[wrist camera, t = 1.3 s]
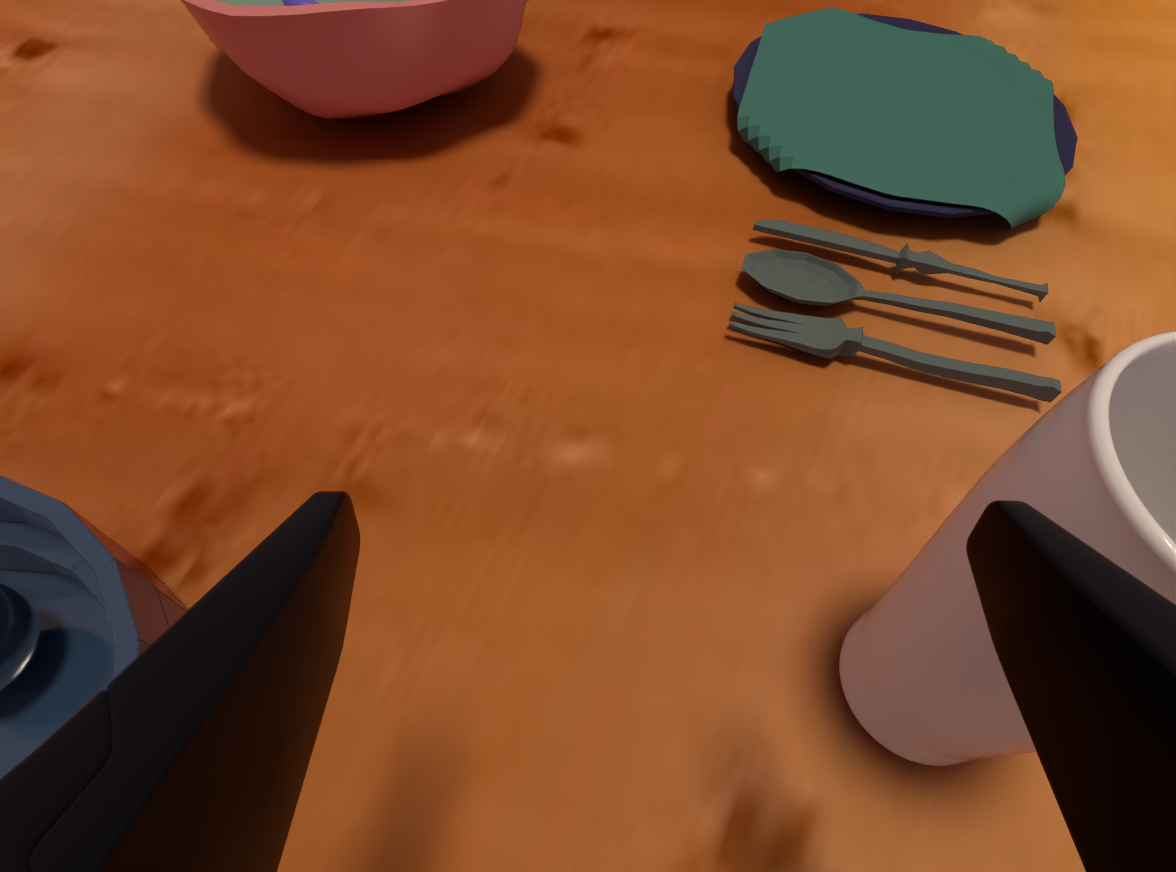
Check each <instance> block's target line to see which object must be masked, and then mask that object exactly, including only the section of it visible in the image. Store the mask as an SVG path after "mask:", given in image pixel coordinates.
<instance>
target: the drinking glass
mask: <svg viewBox="0 0 1176 872" xmlns="http://www.w3.org/2000/svg"><path fill="white" fill-rule="evenodd" d="M996 500H1009V501H1022V502H1025V503H1027V504H1029V505H1030V506H1032V507H1033V508H1035V509H1036V510H1037V511H1039V512H1040V513H1042V514H1043V515H1045V516H1046V517H1048V518H1049V519H1051V520H1052V521H1054V522H1055V523H1057V524H1058V525H1060V526H1061V527H1062V528H1064V529H1065V530H1067V531H1068V532H1070V533H1071V534H1073V535H1074V536H1076V537H1077V538H1079V539H1080V540H1082V541H1083V542H1084V543H1086V544H1087V545H1089V546H1090V547H1092V548H1093V549H1095V550H1096V551H1098V552H1099V553H1101V554H1102V555H1104V556H1105V557H1106V558H1108V559H1109V560H1111V561H1112V562H1114V563H1115V564H1117V565H1118V566H1120V567H1121V568H1123V569H1124V570H1126V571H1127V572H1128V573H1130V574H1131V575H1133V576H1134V577H1136V578H1137V579H1139V580H1140V581H1142V582H1143V583H1145V584H1146V585H1148V586H1149V587H1151V588H1152V589H1153V590H1155V591H1156V592H1158V593H1159V594H1161V595H1162V596H1164V597H1165V598H1167V599H1168V600H1170V601H1171V602H1173V603H1174V604H1175V605H1176V331H1173V332H1166V333H1162V334H1157V335H1153V336H1150V337H1148V338H1145V339H1142V340H1139V341H1137V342H1135V343H1133V344H1131V345H1129V346H1127V347H1126V348H1124V349H1123V350H1121V351H1120V352H1118V353H1117V354H1115V355H1114V356H1113V357H1112V358H1111V359H1110V360H1109V361H1108V362H1107V363H1105V364H1104V365H1103V366H1102V367H1100V368H1099V369H1098V370H1097V371H1096V372H1094V373H1093V374H1092V375H1091V376H1089V377H1088V378H1087V379H1086V380H1084V381H1083V382H1082V383H1081V384H1079V385H1078V386H1077V387H1076V388H1075V389H1073V390H1072V391H1071V392H1070V393H1069V394H1067V395H1066V396H1065V397H1064V398H1063V399H1062V400H1060V401H1059V402H1058V403H1057V404H1056V405H1055V406H1054V407H1052V408H1051V409H1050V410H1049V411H1048V412H1047V413H1046V414H1044V415H1043V416H1042V417H1041V418H1040V419H1039V420H1038V421H1037V422H1036V423H1035V424H1033V425H1032V426H1031V427H1030V428H1029V429H1028V430H1027V431H1026V432H1025V433H1024V434H1023V435H1022V436H1021V437H1019V438H1018V439H1017V440H1016V441H1015V442H1014V443H1013V444H1012V445H1011V446H1010V447H1009V448H1008V449H1007V450H1006V451H1005V452H1004V453H1003V454H1002V455H1001V456H1000V457H999V458H998V459H997V460H996V461H995V463H994V464H993V465H992V466H991V467H990V468H989V469H988V470H987V471H986V472H985V474H984V475H983V476H982V477H981V478H980V479H979V480H978V481H977V483H976V484H975V485H974V486H973V487H972V489H971V490H970V491H969V492H968V493H967V494H966V496H965V497H964V498H963V499H962V500H961V502H960V503H959V504H958V505H957V507H956V508H955V509H954V510H953V511H952V513H951V514H950V515H949V516H948V517H947V519H946V520H945V521H944V522H943V524H942V525H941V526H940V527H939V528H938V530H937V531H936V532H935V533H934V535H933V536H932V537H931V538H930V539H929V541H928V542H927V543H926V544H925V546H924V547H923V548H922V549H921V550H920V552H919V553H918V554H917V555H916V556H915V558H914V559H913V560H912V561H911V562H910V564H909V565H908V566H907V567H906V568H905V570H904V571H903V572H902V573H901V574H900V575H899V577H898V578H897V579H896V580H895V581H894V583H893V584H892V585H891V586H890V587H889V588H888V590H887V591H886V592H885V593H884V594H883V595H882V597H881V598H880V599H879V600H878V601H877V602H876V603H875V605H874V606H872V607H871V608H870V609H869V610H868V611H866V612H865V613H864V614H863V615H862V616H861V617H860V618H859V619H858V620H857V621H856V622H855V623H854V624H853V625H852V627H851V628H850V630H849V631H848V633H847V635H846V637H845V639H844V642H843V644H842V648H841V652H840V660H839V672H840V680H841V685H842V689H843V692H844V695H845V698H846V700H847V702H848V705H849V707H850V709H851V710H852V712H853V714H854V716H855V717H856V719H857V720H858V722H859V723H860V724H861V725H862V727H863V728H864V729H865V730H866V731H867V732H868V733H869V734H870V735H871V736H872V737H873V738H874V739H875V740H876V741H877V742H878V743H880V744H881V745H882V746H883V747H885V748H886V749H888V750H889V751H891V752H893V753H894V754H896V755H898V756H900V757H902V758H905V759H907V760H910V761H913V762H916V763H920V764H924V765H931V766H948V765H955V764H960V763H964V762H968V761H971V760H975V759H979V758H986V757H995V756H1003V755H1013V754H1022V753H1032V752H1036V749H1035V747H1034V744H1033V742H1032V739H1031V737H1030V735H1029V732H1028V730H1027V727H1026V725H1025V723H1024V720H1023V718H1022V715H1021V713H1020V710H1019V708H1018V706H1017V703H1016V701H1015V698H1014V696H1013V693H1012V691H1011V689H1010V686H1009V684H1008V681H1007V679H1006V676H1005V674H1004V672H1003V669H1002V667H1001V664H1000V661H999V659H998V656H997V654H996V651H995V648H994V645H993V642H992V639H991V636H990V632H989V629H988V626H987V622H986V619H985V615H984V612H983V608H982V605H981V601H980V598H979V595H978V591H977V588H976V584H975V581H974V577H973V574H972V570H971V567H970V564H969V560H968V557H967V551H966V545H967V540H968V537H969V535H970V533H971V531H972V530H973V528H974V526H975V525H976V523H977V521H978V520H979V518H980V516H981V515H982V513H983V511H984V510H985V508H986V507H987V505H988V504H989V503H991V502H993V501H996Z"/></svg>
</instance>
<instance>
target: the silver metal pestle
mask: <svg viewBox="0 0 1176 872" xmlns="http://www.w3.org/2000/svg"><path fill="white" fill-rule="evenodd" d="M39 639H40V626H39V620H38V617H37V614H36V612H35V610H34V608H33V607H32V605H31V604H30V603H29V601H28V600H27V599H26V598H25V597H24V596H23V595H21V594H20V593H19V592H17V591H16V590H14V589H13V588H10V587H8V586H6V585H4V584H1V583H0V693H1V692H2V691H4V690H5V689H7V688H8V687H10V686H11V685H12V684H13V683H14V682H15V681H16V680H17V679H18V678H19V677H20V676H21V675H22V674H23V673H24V672H25V671H26V669H27V668H28V666H29V665H30V664H31V662H32V660H33V658H34V656H35V654H36V651H37V648H38V644H39Z"/></svg>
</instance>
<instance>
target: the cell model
mask: <svg viewBox="0 0 1176 872" xmlns="http://www.w3.org/2000/svg"><path fill="white" fill-rule="evenodd" d="M181 2H182V3H183V4H184V5H185V7H186V8H187V9H188V11H189V12H190V13H191V15H192V16H193V17H194V19H195V20H196V22H197V23H198V24H199V26H200V27H201V28H202V30H203V31H204V32H205V34H206V35H207V36H208V37H209V39H210V40H211V41H212V42H213V44H214V45H215V46H216V47H217V48H218V49H219V50H220V51H221V52H222V53H223V54H224V55H226V56H227V57H228V58H229V59H230V60H231V61H232V62H233V63H234V64H236V65H237V66H238V67H239V68H240V69H241V70H242V71H243V72H244V73H245V74H246V75H248V76H249V77H250V78H251V79H253V80H254V81H256V82H257V83H259V84H261V85H262V86H264V87H265V88H267V89H268V90H270V91H271V92H273V93H274V94H276V95H278V96H279V97H281V98H282V99H284V100H285V101H287V102H288V103H290V104H291V105H293V106H295V107H296V108H298V109H300V110H302V111H304V112H306V113H308V114H311V115H314V116H317V117H320V118H331V119H337V118H359V117H369V116H374V115H378V114H381V113H387V112H394V111H399V110H402V109H405V108H409V107H412V106H414V105H417V104H419V103H422V102H424V101H427V100H429V99H432V98H434V97H439V96H442V95H447V94H453V93H457V92H460V91H463V90H465V89H467V88H470V87H472V86H474V85H476V84H477V83H479V82H480V81H482V80H483V79H485V78H486V77H488V76H490V75H491V74H492V73H493V72H495V71H496V70H497V69H498V68H499V67H500V66H502V65H503V64H504V63H505V62H506V60H507V59H508V58H509V56H510V55H511V54H512V52H513V50H514V48H515V45H516V43H517V40H518V36H519V33H520V29H521V25H522V20H523V14H524V9H525V4H526V2H527V0H181Z"/></svg>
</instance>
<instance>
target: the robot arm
mask: <svg viewBox="0 0 1176 872" xmlns="http://www.w3.org/2000/svg"><path fill="white" fill-rule="evenodd" d="M359 549H360V531H359V527H358V523H357V520H356V516H355V512H354V508H353V504H352V500H351V498H350V496H349V494H348V493H346V492H343V491H320V492H317V493H315V494H313V495H312V496H311V497H310V498H309V499H308V500H307V501H306V502H305V503H304V504H302V505H301V506H300V507H299V508H298V509H297V510H296V511H295V512H294V513H293V514H292V515H291V516H289V517H288V518H287V519H286V520H285V521H284V522H283V523H282V524H281V525H280V526H279V527H278V528H276V529H275V530H274V531H273V532H272V533H271V534H270V535H269V536H268V537H267V538H266V539H265V540H264V541H262V542H261V543H260V544H259V545H258V546H257V547H256V548H255V549H254V550H253V551H252V552H251V553H249V554H248V555H247V556H246V557H245V558H244V559H243V560H242V561H241V562H240V563H239V564H238V565H236V566H235V567H234V568H233V569H232V570H231V571H230V572H229V573H228V574H227V575H226V576H225V577H224V578H222V579H221V580H220V581H219V582H218V583H217V584H216V585H215V586H214V587H213V588H212V589H211V590H209V591H208V592H207V593H206V594H205V595H204V596H203V597H202V598H201V599H200V600H199V601H198V602H196V603H195V604H194V605H193V606H192V607H191V608H190V609H189V610H188V611H187V612H186V613H185V614H183V615H182V616H181V617H180V618H179V619H178V620H177V621H176V622H175V623H174V624H173V625H172V626H171V627H169V628H168V629H167V630H166V631H165V632H164V633H163V634H162V635H161V636H160V637H159V638H158V639H156V640H155V641H154V642H153V643H152V644H151V645H150V646H149V647H148V648H147V649H146V650H145V651H143V652H142V653H141V654H140V655H139V656H138V657H137V658H136V659H135V660H134V661H133V662H132V663H131V664H129V665H128V666H127V667H126V668H125V669H124V670H123V671H122V672H121V673H120V674H119V675H118V676H116V677H115V678H114V679H113V680H112V681H111V682H110V683H109V684H108V685H107V691H106V690H102V691H100V692H99V693H98V694H97V695H96V696H95V697H93V698H92V699H91V700H90V701H89V702H88V703H87V704H86V705H85V706H84V707H83V708H82V709H80V710H79V711H78V712H77V713H76V714H75V715H74V716H73V717H72V718H71V719H69V720H68V721H67V722H66V723H65V724H64V725H63V726H62V727H60V728H59V729H58V730H57V731H56V732H55V733H54V734H53V735H51V736H50V737H49V738H48V739H47V740H46V741H45V742H44V743H42V744H41V745H40V746H39V747H38V748H37V749H36V750H35V751H33V752H32V753H31V754H30V755H29V756H28V757H26V758H25V759H24V760H23V761H22V762H20V763H19V764H18V765H17V766H16V767H14V768H13V769H12V770H11V771H10V772H8V773H7V774H6V775H5V776H4V777H2V778H1V779H0V872H277V870H278V866H279V863H280V859H281V856H282V853H283V849H284V846H285V842H286V839H287V836H288V832H289V829H290V825H291V822H292V819H293V815H294V812H295V809H296V805H297V802H298V798H299V795H300V792H301V788H302V785H303V781H304V778H305V775H306V771H307V768H308V765H309V761H310V758H311V754H312V751H313V748H314V744H315V741H316V737H317V734H318V731H319V727H320V724H321V721H322V717H323V714H324V710H325V707H326V704H327V700H328V697H329V693H330V690H331V687H332V683H333V680H334V676H335V673H336V670H337V666H338V663H339V659H340V655H341V651H342V648H343V642H344V637H345V632H346V626H347V620H348V614H349V608H350V602H351V596H352V590H353V585H354V579H355V573H356V567H357V561H358V555H359ZM966 551H967V557H968V560H969V564H970V567H971V570H972V574H973V577H974V581H975V584H976V588H977V591H978V595H979V598H980V601H981V605H982V608H983V612H984V615H985V619H986V622H987V626H988V629H989V632H990V636H991V639H992V642H993V645H994V648H995V651H996V654H997V656H998V659H999V661H1000V664H1001V667H1002V669H1003V672H1004V674H1005V676H1006V679H1007V681H1008V684H1009V686H1010V689H1011V691H1012V693H1013V696H1014V698H1015V701H1016V703H1017V706H1018V708H1019V710H1020V713H1021V715H1022V718H1023V720H1024V723H1025V725H1026V727H1027V730H1028V732H1029V735H1030V737H1031V739H1032V742H1033V744H1034V747H1035V749H1036V752H1037V754H1038V756H1039V759H1040V761H1041V764H1042V766H1043V769H1044V771H1045V773H1046V776H1047V778H1048V781H1049V783H1050V786H1051V788H1052V790H1053V793H1054V795H1055V798H1056V800H1057V803H1058V805H1059V807H1060V810H1061V812H1062V815H1063V817H1064V820H1065V822H1066V824H1067V827H1068V829H1069V832H1070V834H1071V836H1072V839H1073V841H1074V844H1075V846H1076V849H1077V851H1078V853H1079V856H1080V858H1081V861H1082V863H1083V866H1084V868H1085V870H1086V872H1176V605H1175V604H1174V603H1173V602H1171V601H1170V600H1168V599H1167V598H1165V597H1164V596H1162V595H1161V594H1159V593H1158V592H1156V591H1155V590H1153V589H1152V588H1151V587H1149V586H1148V585H1146V584H1145V583H1143V582H1142V581H1140V580H1139V579H1137V578H1136V577H1134V576H1133V575H1131V574H1130V573H1128V572H1127V571H1126V570H1124V569H1123V568H1121V567H1120V566H1118V565H1117V564H1115V563H1114V562H1112V561H1111V560H1109V559H1108V558H1106V557H1105V556H1104V555H1102V554H1101V553H1099V552H1098V551H1096V550H1095V549H1093V548H1092V547H1090V546H1089V545H1087V544H1086V543H1084V542H1083V541H1082V540H1080V539H1079V538H1077V537H1076V536H1074V535H1073V534H1071V533H1070V532H1068V531H1067V530H1065V529H1064V528H1062V527H1061V526H1060V525H1058V524H1057V523H1055V522H1054V521H1052V520H1051V519H1049V518H1048V517H1046V516H1045V515H1043V514H1042V513H1040V512H1039V511H1037V510H1036V509H1035V508H1033V507H1032V506H1030V505H1029V504H1027V503H1025V502H1022V501H1009V500H996V501H993V502H991V503H989V504H988V505H987V507H986V508H985V510H984V511H983V513H982V515H981V516H980V518H979V520H978V521H977V523H976V525H975V526H974V528H973V530H972V531H971V533H970V535H969V537H968V540H967V545H966Z"/></svg>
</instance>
